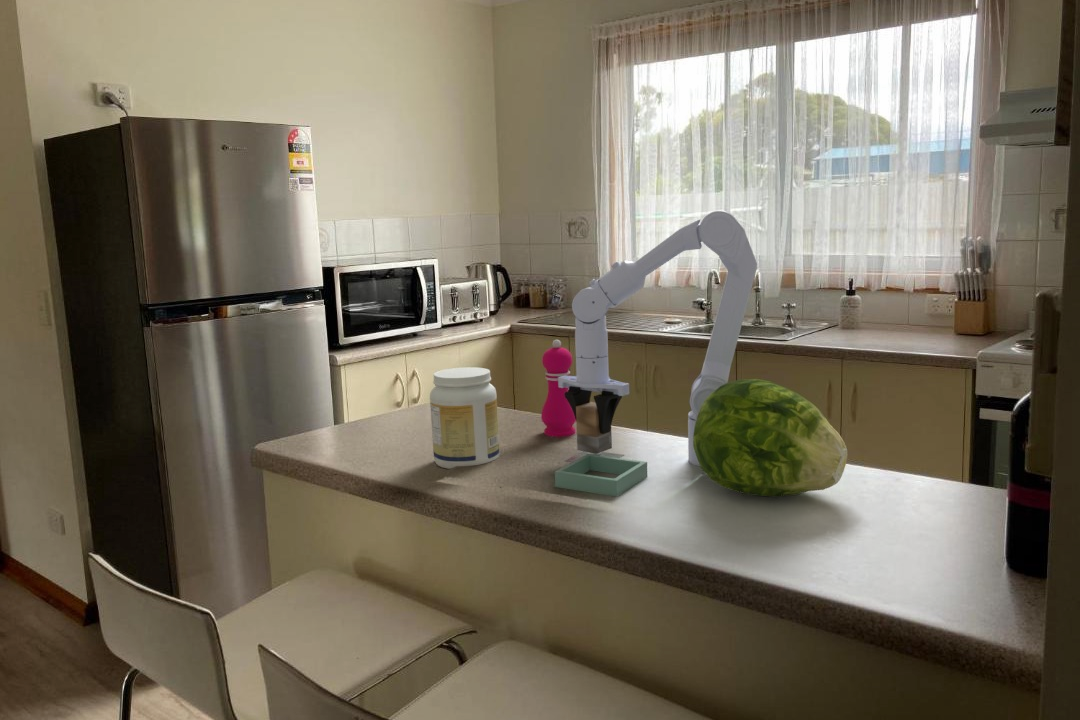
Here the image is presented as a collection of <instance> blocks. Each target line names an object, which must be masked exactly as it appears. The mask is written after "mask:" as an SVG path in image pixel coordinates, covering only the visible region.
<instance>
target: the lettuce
mask: <svg viewBox="0 0 1080 720" xmlns="http://www.w3.org/2000/svg"><path fill="white" fill-rule="evenodd" d="M693 447H694V450H695V453H696V456H697V459H698V462H699V464H700V466H699V467H700V469H701V471H702V470H703V471H702V472H704V473H705V474H706V476H707V477H708V478H709V479H710V480H711V481H713V482H714V483H716V484H718V485H719V486H721V487H722V488H725V489H727V490H731V491H734V492H736V493H737V492H738V493H742V494H746V495H751V494H752V495H753V496H760V497H771V498H772V497H773V498H774V497H775V498H776V497H787V496H795V495H800V494H803V493H807V492H814V491H824V490H826V489H829V488H831V487H833V486H835V485H836V484H838V483H839V482H840V481H841V479H842V477H843V473H844V472H845V468H846V466H847V465H846V464H847V461H848V448H847V445H846V443H845V441H844V440H843V438H842V436H841V435H840V433H839V432H838V431H837V430H836V429H835V428H834V427H833V425H831V424H830V422H829V420H828V419H827V418H826V417H825V415H824V413H823V412H822V411H821V410H820V409H819V408H818V407H816V405H815V404H813V402H811V401H810V400H808V399H806V398H805V397H804V396H802V395H801V394H799V393H797V392H795V391H793V390H791V389H789V388H788V387H784V386H783V385H780V384H777V383H776V382H773V381H769V380H765V379H760V378H749V379H744V378H743V379H738V380H732V381H728V382H727V383H726V384H724V385H722V386H720V387H719V388H717V389H716V390H715V391H714V392H712V393H711V394H710V395H709V396H708V397H707V399H706V400H705V401H704V403H703V405H702V407H701V409H700V411H699V414H698V417H697V420H696V423H695V428H694V435H693Z"/></svg>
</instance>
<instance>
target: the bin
mask: <svg viewBox="0 0 1080 720" xmlns="http://www.w3.org/2000/svg"><path fill="white" fill-rule="evenodd" d="M589 471H595V472H601V473H609V474H615V475H618V476H617V477H615V478H610V477H604V476H598V475H591V474H586V473H588V472H589ZM646 478H648V461H644V460H634V459H628V458H622V457H620V458H614V457H606V456H599V455H591V454H587V455H585V456H583V457H581V458H580V459H578V460H576V461H574V462H569V463H568V464H566V465H565V466H563V467H561V468H559V469H557V470H555V471H554V487H555V488H560V489H561V488H562V489H567V490H574V491H578V492H585V493H592V494H599V495H603V496H611V497H619V496H620V495H622V494H623V493H625V492H627V490H629V489H630V488H632V487H634V486H635V485H637V484H638V483H640V482H641V481H643V480H645V479H646Z"/></svg>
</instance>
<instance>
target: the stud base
mask: <svg viewBox="0 0 1080 720" xmlns="http://www.w3.org/2000/svg"><path fill="white" fill-rule="evenodd" d="M587 454H591V455H599V456H606V457H614V458H622V457H624V456H625V454H622V453H621V454H620V453H612V452H608V451H607V452H605V451H603V452H600V453H598V454H595V453H590V452H585V451H580V452H579V453H577V454H575V455H573V456H572V457H569V458H568V459H566V460H565V462H566V463H572V462H574V461H576V460H578V459H580V458H581V457H583V456H585V455H587Z"/></svg>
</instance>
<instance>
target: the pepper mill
mask: <svg viewBox="0 0 1080 720" xmlns="http://www.w3.org/2000/svg"><path fill="white" fill-rule="evenodd" d="M551 344H552V347H551V348H548V349H547V350H545V351H544V353H543V355H542V358H541V359H542V360H541V361H542V363H541V364H542V366H543V367H544V369H545V370H546V371H545V373H544V374H545V377H544V378H545V380H547V386H548V388H547V389H548V390H547V395H546V399H545V402H544V404H543V407H542V411H541V418H540V419H541V422H542V423H543V425H545V426H546V428H544V431H543V433H544V435H546V436H548V437H553V438H554V437H555V438H560V437H561V438H562V437H569V436H572V435H575V434H576V428H575V427H574V424H575V423H577V422H576V419H575V416H574V413H573V410H572V408H571V406H570V404H569V402H568V401H567V399H566V398H565V395H564V393H565V392H568V390H569V388H566V387H565V388H559V386H558V377H561V376H571V371H570V370H569V369H570V368H571V366H572V364H573V355H572V354H571V352H570V350H568V349H567V348H565V347H561V346H562V342H561V340H559V339H554V340H553V341H552V343H551Z"/></svg>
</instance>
